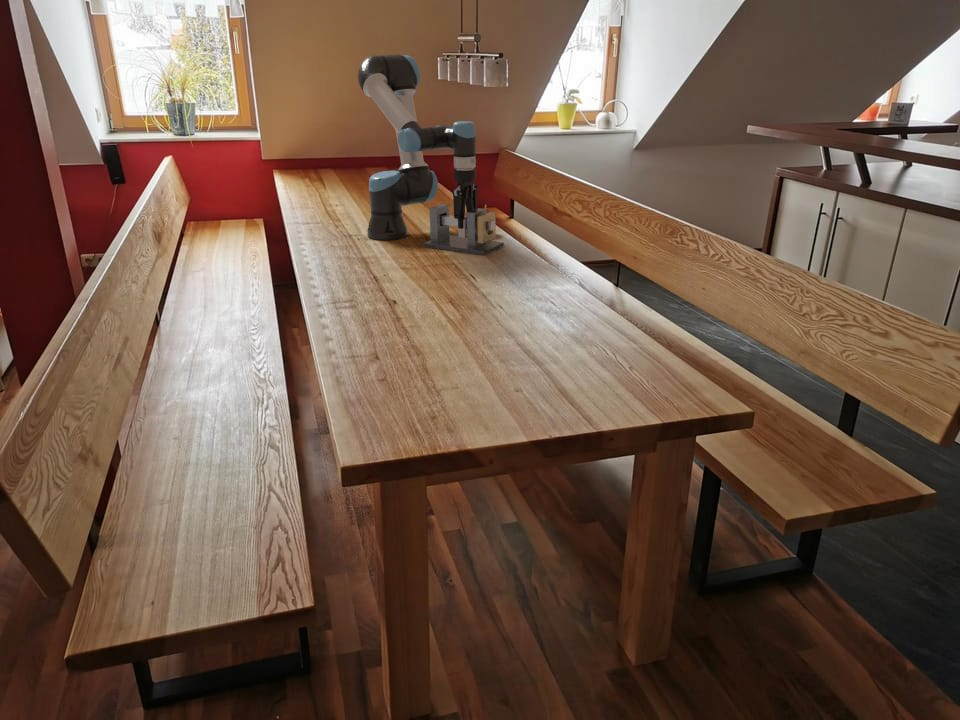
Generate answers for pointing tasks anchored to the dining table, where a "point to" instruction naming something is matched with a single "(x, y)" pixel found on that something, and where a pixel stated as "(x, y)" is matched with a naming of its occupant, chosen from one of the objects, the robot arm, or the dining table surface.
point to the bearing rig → (455, 243)
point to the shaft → (454, 222)
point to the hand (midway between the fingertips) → (466, 235)
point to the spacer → (482, 221)
